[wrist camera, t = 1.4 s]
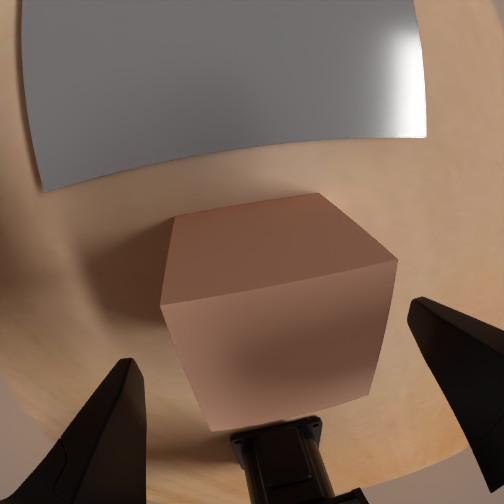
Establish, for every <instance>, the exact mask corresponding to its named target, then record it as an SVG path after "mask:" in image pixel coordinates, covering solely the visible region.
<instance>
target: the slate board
mask: <svg viewBox="0 0 504 504" xmlns="http://www.w3.org/2000/svg"><path fill="white" fill-rule="evenodd" d="M21 43H22V66H23V80H24V90H25V99H26V106H27V113H28V120H29V126H30V132H31V137H32V143H33V148H34V152H35V157H36V161H37V166H38V170H39V174H40V178H41V182H42V186H43V189H44V193H46V192H49V191H52V190H56V189H59V188H62V187H65V186H69V185H72V184H75V183H79V182H82V181H86V180H90V179H93V178H97V177H101V176H105V175H108V174H112V173H116V172H120V171H124V170H129V169H133V168H137V167H142V166H146V165H151V164H155V163H160V162H165V161H170V160H175V159H180V158H186V157H191V156H197V155H202V154H208V153H215V152H221V151H228V150H234V149H241V148H249V147H257V146H265V145H274V144H283V143H293V142H304V141H317V140H331V139H350V138H382V137H418V138H426V101H425V83H424V71H423V60H422V51H421V43H420V36H419V30H418V23H417V18H416V12H415V7H414V2H413V0H22V23H21Z"/></svg>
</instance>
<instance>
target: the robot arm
mask: <svg viewBox="0 0 504 504" xmlns="http://www.w3.org/2000/svg"><path fill="white" fill-rule="evenodd" d="M407 322H408V326H409V328H410V330H411V332H412V334H413V336H414V338H415V340H416V342H417V345H418V347H419V349H420V351H421V353H422V355H423V357H424V359H425V361H426V363H427V365H428V367H429V368H430V370H431V372H432V374H433V375H434V377H435V379H436V381H437V382H438V384H439V386H440V388H441V390H442V392H443V393H444V395H445V397H446V399H447V401H448V403H449V405H450V406H451V408H452V410H453V412H454V414H455V416H456V418H457V420H458V422H459V424H460V426H461V428H462V430H463V432H464V434H465V436H466V438H467V440H468V443H469V445H470V447H471V449H472V451H473V454H474V456H475V458H476V460H477V462H478V465H479V467H480V469H481V472H482V474H483V476H484V479H485V481H486V484H487V486H488V489H489V491H490V492H491V493H493V492H494V491H496V490H497V489H498V488H500V487H501V486H503V485H504V331H503V330H501V329H499V328H497V327H494V326H492V325H490V324H487V323H485V322H483V321H480V320H478V319H476V318H473V317H471V316H469V315H466V314H464V313H461V312H459V311H457V310H454V309H452V308H450V307H447V306H445V305H442V304H440V303H438V302H435V301H433V300H430V299H428V298H425V297H418V298H415V299H413V300H412V301H411V304H410V308H409V313H408V317H407ZM321 430H322V421H321V418H319V417H316V418H312V419H308V420H304V421H300V422H296V423H292V424H288V425H283V426H279V427H274V428H269V429H264V430H259V431H254V432H249V433H243V434H237V435H233V436H231V437H230V441H231V445H232V447H233V450H234V452H235V454H236V457H237V459H238V461H239V464H240V466H241V468H242V469H243V470H245V476H246V481H247V486H248V491H249V496H250V501H251V504H369V503H368V501H367V499H366V498H365V496H364V494H363V492H362V491H361V489H360V487H359V488H356V489H353V490H351V492H348V493H345V494H342V495H339V496H336V497H335V494H334V491H333V488H332V485H331V483H330V480H329V477H328V474H327V471H326V468H325V466H324V463H323V460H322V457H321V454H320V452H319V449H318V448H319V442H320V436H321ZM146 432H147V422H146V407H145V390H144V378H143V375H142V373H141V371H140V369H139V368H138V366H137V364H136V362H135V360H134V359H133V358H123V359H120V360H119V361H118V362H117V363H116V365H115V366H114V367H113V368H112V370H111V371H110V372H109V374H108V375H107V376H106V377H105V379H104V380H103V381H102V383H101V384H100V385H99V386H98V388H97V389H96V390H95V392H94V393H93V394H92V396H91V397H90V398H89V399H88V401H87V402H86V403H85V405H84V406H83V407H82V409H81V410H80V411H79V413H78V414H77V415H76V417H75V418H74V419H73V421H72V422H71V423H70V425H69V426H68V427H67V429H66V430H65V431H64V433H63V434H62V435H61V438H59V439H58V441H57V442H56V444H55V445H54V446H53V448H52V449H51V450H50V451H49V453H48V454H47V455H46V457H45V458H44V459H43V460H42V462H41V463H40V464H39V465H38V466H37V467H36V469H35V470H34V471H33V472H32V473H31V474H30V475H29V476H28V478H27V479H26V480H25V481H24V482H23V483H22V484H21V486H20V487H19V488H18V489H17V490H16V491H15V492H14V493H13V494H12V495H10V496H9V497H7V498H6V499H3V500H0V504H146Z"/></svg>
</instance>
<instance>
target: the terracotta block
mask: <svg viewBox="0 0 504 504" xmlns="http://www.w3.org/2000/svg"><path fill="white" fill-rule="evenodd" d="M397 263H398V259H397V258H396V257H395V256H394V255H393V254H391V253H390V252H389V251H388V250H387V249H386V248H385V247H384V246H382V245H381V244H380V243H379V242H378V241H377V240H376V239H374V238H373V237H372V236H371V235H370V234H369V233H367V232H366V231H365V230H364V229H363V228H362V227H360V226H359V225H358V224H357V223H356V222H354V221H353V220H352V219H351V218H349V217H348V216H347V215H346V214H345V213H343V212H342V211H341V210H340V209H338V208H337V207H336V206H335V205H333V204H332V203H331V202H330V201H328V200H327V199H326V198H325V197H323V196H322V195H321V194H320V193H317V194H309V195H302V196H295V197H288V198H281V199H274V200H267V201H261V202H254V203H248V204H242V205H236V206H230V207H224V208H218V209H212V210H206V211H201V212H195V213H190V214H184V215H179V216H175V219H174V224H173V229H172V235H171V240H170V245H169V251H168V257H167V262H166V268H165V274H164V281H163V287H162V294H161V300H160V308H161V311H162V313H163V316H164V319H165V322H166V325H167V327H168V330H169V333H170V335H171V338H172V341H173V343H174V346H175V349H176V351H177V354H178V356H179V359H180V361H181V364H182V366H183V369H184V371H185V373H186V376H187V378H188V381H189V383H190V385H191V388H192V390H193V392H194V394H195V397H196V399H197V401H198V403H199V406H200V408H201V410H202V412H203V414H204V417H205V419H206V421H207V423H208V425H209V427H210V429H211V431H212V432H215V431H222V430H229V429H236V428H242V427H247V426H253V425H258V424H263V423H268V422H273V421H278V420H282V419H287V418H291V417H295V416H299V415H303V414H307V413H311V412H315V411H318V410H322V409H325V408H329V407H332V406H336V405H339V404H342V403H345V402H348V401H352V400H355V399H358V398H361V397H364V396H366V395H368V394H369V391H370V387H371V384H372V380H373V377H374V373H375V370H376V366H377V362H378V358H379V354H380V350H381V346H382V342H383V338H384V334H385V329H386V324H387V320H388V315H389V310H390V305H391V299H392V294H393V288H394V282H395V276H396V270H397Z"/></svg>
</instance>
